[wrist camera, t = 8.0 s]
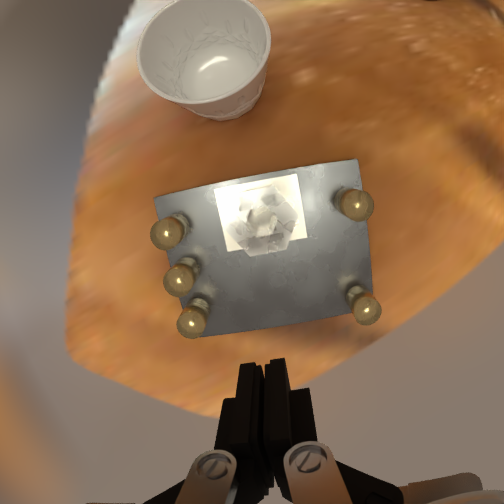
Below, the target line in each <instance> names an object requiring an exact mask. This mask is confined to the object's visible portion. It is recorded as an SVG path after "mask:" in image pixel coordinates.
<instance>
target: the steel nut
mask: <svg viewBox="0 0 504 504" xmlns="http://www.w3.org/2000/svg"><path fill="white" fill-rule="evenodd" d="M266 206H267V207H268V208H269V210H270V211H271V212H272V213H273V214H274V215H275V216H276V218H275V221H274V224H273V226H272V228H271V229H266V230H261V231H257V230H256V229H255V228H254V227H253V226H252V225H251V224H250V223H249V222H248V221H247V219H248V216H249V213H250V210H252V209H257V208H261V207H266ZM297 218H298V213H297V212H296V211H295V209H294V208H293V207H292V206H291V205H290V204H289V203H288V201H287V200H286V199H285V198H284V197H283V196H282V195H281V194H280V192H279V191H278V190H277V189H276V188H275V187H274V186H273V185H269V186H264V187H259V188H255V189H250V190H245V191H241V192H238V193H237V194H236V195H235V198H234V202H233V205H232V208H231V211H230V214H229V218H228V221H227V224H226V227H225V230H226V232H227V233H228V234H229V235H230V236H231V237H232V238H233V239H234V240H235V241H236V242H237V243H238V244H239V246H240V247H241V248H242V249H243V250H244V251H245V252H246V253H247V254H248V255H249V256H250V257H251V256H256V255H261V254H266V253H271V252H276V251H282V250H286V249H287V246H288V243H289V240H290V237H291V235H292V232H293V229H294V226H295V223H296V221H297Z"/></svg>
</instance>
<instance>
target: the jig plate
mask: <svg viewBox="0 0 504 504" xmlns="http://www.w3.org/2000/svg"><path fill="white" fill-rule="evenodd" d="M269 185H273V186H274V187H275V188H276V189H277V190H278V191H279V192H280V194H281V195H282V196H283V197H284V198H285V199H286V200H287V201H288V203H289V204H290V205H291V206H292V207H293V208H294V209H295V211H296V212H297V213H298V218H297V221H296V223H295V226H294V229H293V232H292V235H291V237H290V240H289V243H288V246H287V249H286V250H282V251H276V252H271V253H266V254H261V255H256V256H251V257H250V256H249V255H248V254H247V253H246V252H245V251H244V250H243V249H242V248H241V247H240V246H239V244H238V243H237V242H236V241H235V240H234V239H233V238H232V237H231V236H230V235H229V234H228V233H227V232H226V230H225V227H226V224H227V221H228V218H229V214H230V211H231V208H232V205H233V202H234V198H235V195H236V194H237V193H238V192H241V191H245V190H250V189H255V188H259V187H264V186H269ZM154 202H155V207H156V211H157V215H158V220H159V221H158V222H156V223H155V224H154V225H153V226H152V228H151V232H150V237H151V240H152V242H153V244H154V245H155V246H156V247H157V248H159V249H161V250H166V252H167V255H168V259H169V263H170V267H171V269H170V270H169V271H168V272H167V273H166V274H165V276H164V279H163V284H164V287H165V289H166V291H167V292H168V293H169V294H171V295H173V296H175V297H179V298H180V302H181V305H182V308H183V311H182V313H181V315H180V317H179V318H178V320H177V329H178V331H179V333H180V334H181V335H183V336H184V337H186V338H190V339H195V338H198V337H206V336H215V335H223V334H230V333H238V332H245V331H252V330H258V329H265V328H271V327H278V326H284V325H290V324H295V323H301V322H307V321H312V320H318V319H323V318H328V317H333V316H338V315H343V314H348V313H353V315H354V317H355V319H356V320H357V322H358V323H359V324H361V325H371V324H373V323H375V322H376V321H377V320H378V319H379V317H380V315H381V306H380V304H379V303H378V301H377V300H376V299H375V298H374V296H373V290H372V274H371V260H370V248H369V238H368V228H367V219H368V218H369V217H370V216H371V214H372V212H373V209H374V203H373V199H372V197H371V196H370V195H369V194H368V193H367V192H365V191H363V189H362V183H361V176H360V170H359V164H358V159H353V160H345V161H338V162H331V163H324V164H317V165H311V166H305V167H299V168H293V169H287V170H281V171H275V172H270V173H264V174H259V175H254V176H249V177H244V178H239V179H234V180H229V181H224V182H219V183H215V184H210V185H205V186H201V187H197V188H192V189H188V190H184V191H179V192H175V193H171V194H167V195H163V196H159V197H155V198H154ZM275 218H276V216H275V215H274V214H273V213H272V212H271V211H270V210H269V208H268V207H267V206H266V207H261V208H257V209H252V210H250V213H249V216H248V219H247V221H248V222H249V223H250V224H251V225H252V226H253V227H254V228H255V229H256V230H257V231H261V230H266V229H271V228H272V226H273V224H274V221H275Z"/></svg>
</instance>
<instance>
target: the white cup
mask: <svg viewBox="0 0 504 504" xmlns="http://www.w3.org/2000/svg"><path fill="white" fill-rule="evenodd" d="M270 47H271V33H270V28H269V25H268V23H267V20H266V19H265V17H264V15H263V14H262V13H261V11H260V10H259V9H258V8H257V7H256V6H255V5H253V4H252V3H251V2H249V1H248V0H175V1H173V2H171V3H170V4H168V5H166V6H165V7H164V8H162V9H161V10H160V11H159V12H158V13H157V14H155V15H154V17H153V18H152V19H151V20H150V21H149V23H148V24H147V25H146V27H145V28H144V30H143V32H142V34H141V37H140V39H139V42H138V46H137V66H138V69H139V72H140V75H141V77H142V79H143V80H144V82H145V83H146V84H147V86H148V87H149V88H150V89H151V90H152V91H154V92H155V93H156V94H158V95H159V96H161V97H163V98H165V99H167V100H169V101H171V102H173V103H175V104H177V105H179V106H181V107H183V108H184V109H186V110H189V111H191V112H193V113H195V114H198V115H200V116H202V117H205V118H209V119H213V120H217V121H224V120H230V119H236V118H239V117H240V116H242V115H243V114H245V113H246V112H248V111H250V110H251V109H252V108H253V107H254V105H255V104H256V102H257V100H258V99H259V97H260V96H261V93H262V88H263V85H264V82H265V77H266V73H267V68H268V60H269V54H270Z"/></svg>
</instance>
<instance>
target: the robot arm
mask: <svg viewBox="0 0 504 504" xmlns="http://www.w3.org/2000/svg"><path fill="white" fill-rule="evenodd" d="M274 476H275V479H276V482H277V485H278V487H280V490H281V493H282V496H283V497H284V498H285V499H287V500H288V501H290V502H292V503H293V504H504V491H501V490H483V488H482V483H481V480H480V478H479V477H478V476H477V475H475V474H472V473H460V474H456V475H452V476H447V477H442V478H437V479H432V480H426V481H421V482H413V483H409V484H408V486H400V487H396V486H395V485H393V484H390V483H387V482H385V481H383V480H380V479H377V478H375V477H373V476H370V475H368V474H365V473H363V472H361V471H358V470H356V469H354V468H351V467H349V466H347V465H345V464H343V463H340V462H338V461H336V460H335V459H334V457H333V454H332V452H331V450H330V449H329V447H328V446H326V445H325V444H323V443H320V442H318V441H317V434H316V427H315V421H314V415H313V408H312V402H311V395H310V389H309V388H304V389H298V390H291V389H290V383H289V378H288V373H287V368H286V362H285V358H280V359H273V360H270V364H265V379H264V374H263V370H262V367H261V365H258V366H256V363H255V362H252V363H244V364H240V369H239V376H238V383H237V390H236V397H235V398H225V399H224V400H223V404H222V409H221V414H220V420H219V425H218V430H217V436H216V441H215V446H214V450H211V451H207V452H205V453H203V454H201V455H199V456H198V457H197V458H196V459H195V461H194V462H193V464H192V466H191V468H190V470H189V473H188V475H187V477H186V479H184V480H183V481H181V482H179V483H178V484H176V485H174V486H173V487H171V488H169V489H168V490H166V491H164V492H163V493H161V494H159V495H157V496H155V497H153V498H152V499H150V500H148V501H146V502H144V503H143V504H257V503H259V502H260V501H261V500H262V499H264V495H268V494H269V488H273V487H274ZM86 504H135V503H86Z"/></svg>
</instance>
